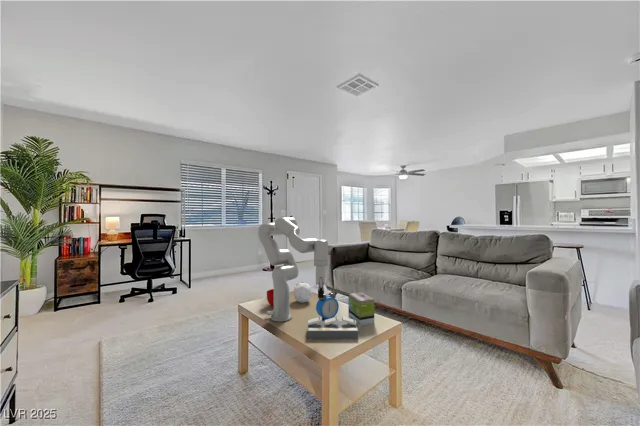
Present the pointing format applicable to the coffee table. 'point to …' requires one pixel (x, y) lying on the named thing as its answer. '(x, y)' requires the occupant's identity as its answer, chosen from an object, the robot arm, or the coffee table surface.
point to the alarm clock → (327, 306)
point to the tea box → (361, 308)
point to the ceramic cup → (270, 297)
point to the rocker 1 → (314, 320)
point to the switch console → (332, 331)
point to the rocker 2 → (331, 320)
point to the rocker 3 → (349, 320)
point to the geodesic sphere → (302, 292)
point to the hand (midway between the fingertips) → (320, 296)
